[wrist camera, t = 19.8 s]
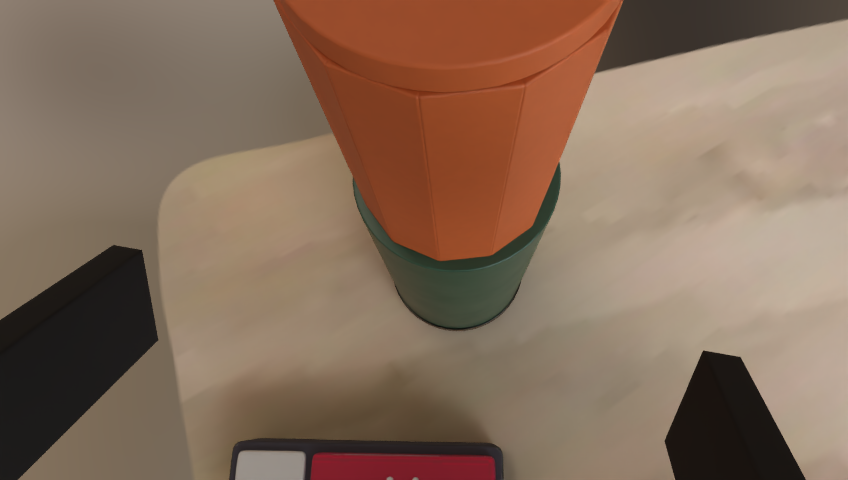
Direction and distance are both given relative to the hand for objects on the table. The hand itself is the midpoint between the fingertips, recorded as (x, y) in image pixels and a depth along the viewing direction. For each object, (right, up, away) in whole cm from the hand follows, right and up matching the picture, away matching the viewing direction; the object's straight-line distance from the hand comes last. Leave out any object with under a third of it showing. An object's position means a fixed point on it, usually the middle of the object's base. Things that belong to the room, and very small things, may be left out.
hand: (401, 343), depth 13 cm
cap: (+2, +5, +9) cm, 11 cm away
